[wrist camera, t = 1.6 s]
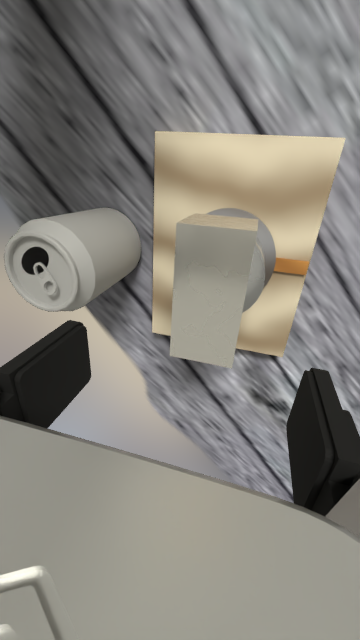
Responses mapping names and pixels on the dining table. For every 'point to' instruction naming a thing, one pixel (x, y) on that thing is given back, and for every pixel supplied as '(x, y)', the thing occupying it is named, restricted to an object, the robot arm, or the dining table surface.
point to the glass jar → (213, 285)
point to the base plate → (245, 214)
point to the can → (71, 257)
